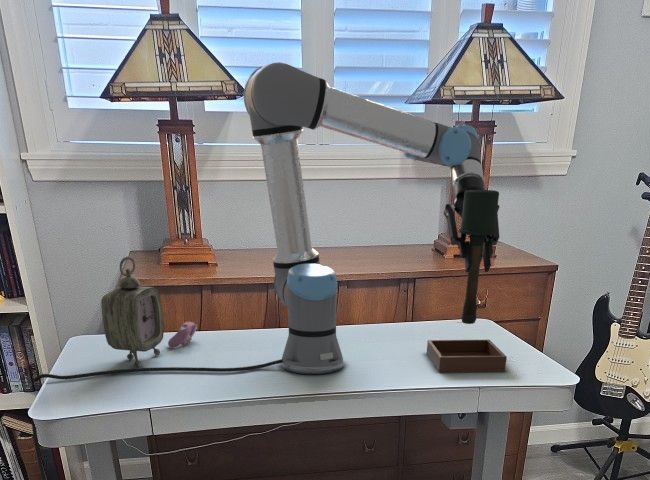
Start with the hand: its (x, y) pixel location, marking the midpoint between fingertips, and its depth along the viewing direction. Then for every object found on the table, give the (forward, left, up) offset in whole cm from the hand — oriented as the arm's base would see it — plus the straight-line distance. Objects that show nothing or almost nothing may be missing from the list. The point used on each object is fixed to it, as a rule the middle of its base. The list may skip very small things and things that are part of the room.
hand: (478, 268), depth 164 cm
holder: (0, +4, -24) cm, 24 cm away
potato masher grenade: (0, +4, -14) cm, 14 cm away
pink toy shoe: (-73, +24, -24) cm, 80 cm away
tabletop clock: (-83, +9, -24) cm, 87 cm away
